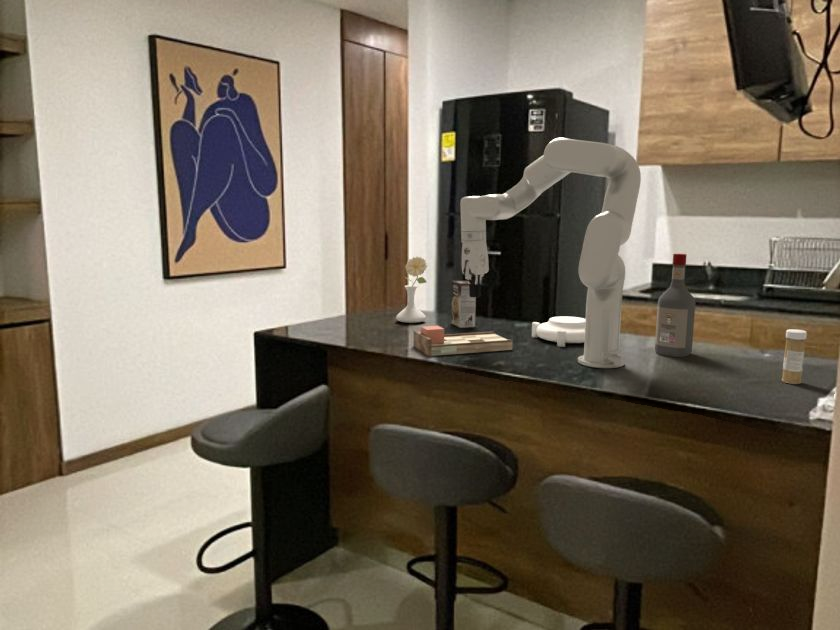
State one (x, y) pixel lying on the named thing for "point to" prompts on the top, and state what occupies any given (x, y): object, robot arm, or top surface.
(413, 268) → the flower in vase
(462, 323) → the coffee box
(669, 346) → the liquor
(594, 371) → the top surface
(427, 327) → the block
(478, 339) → the board
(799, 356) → the sprinkles bottle
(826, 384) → the top surface
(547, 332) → the round stand with pegs
